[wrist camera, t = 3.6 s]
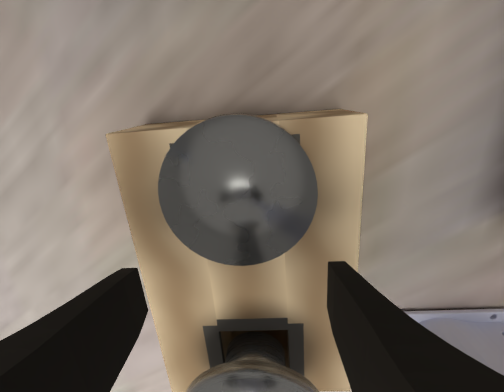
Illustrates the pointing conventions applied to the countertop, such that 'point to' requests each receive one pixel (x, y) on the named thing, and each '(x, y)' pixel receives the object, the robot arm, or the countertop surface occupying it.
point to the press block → (252, 276)
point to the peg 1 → (238, 190)
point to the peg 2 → (252, 369)
